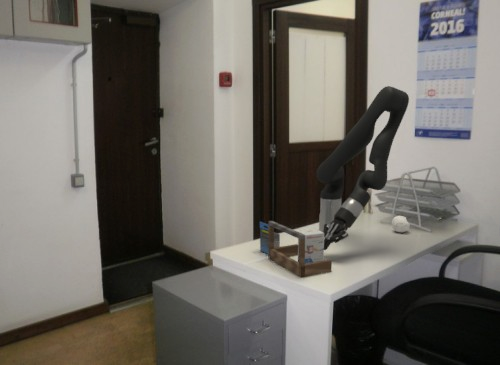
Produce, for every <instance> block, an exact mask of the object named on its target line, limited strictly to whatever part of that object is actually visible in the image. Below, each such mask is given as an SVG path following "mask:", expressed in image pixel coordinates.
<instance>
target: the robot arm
mask: <svg viewBox="0 0 500 365" xmlns="http://www.w3.org/2000/svg"><path fill="white" fill-rule="evenodd" d="M409 97H410V96H409V94H408V93H407V92H406V91H404V90H401V89H398V88H396V87H394V86H389V85H386V86H384V87H383V88H382V89H380V90H379V92H378V93H377V94H376V96H375V97H374V99H373V100H372V102H371V103H370V105H369V107H368V108H367V109H366V110H365V112H364V113H363V115H362V116H361V117H360V119H359V120H358V121H357V123H356V124H354V126H353V127H352V128H351V129H350V131H348V133H347V134H346V136H345V137H344V138H343V140H341V142H340V143H339V144H338V146H337V147H336V148H335V149H334V151H333V152H332V153H331V154H330V155H329V156H328V157H327V158H326V159H325V160H324V161H323V162H321V163H320V165H319V167H318V168H317V170H316V178H317V180H318V181H319V182H320V183H322V184H325V186H324V188H323V189H322V190H321V191H320V208H319V209H320V210H319V211H320V213H319V216H318V218H319V220H318V228H319V229H318V230H319V231H321V232H323V233H324V251H327V249H328V248H329V246H330V245H331V244H333V243H335V244H337V243H338V242H340V241H342V240H344V239H345V238H348V237H349V233H348V232H347V230H349V228H351V227H352V226H353V225H354V223H355V222H356V220H357V219H358V218H359V217H360V215H361V214H362V211H363V210H364V208H365V207H366V206H367V204H368V203H369V201H370V200H371V195H370V193H369V192H368V190H369V189H371V190H374V191H380V190H382V189H384V187H386V185H387V181H388V161H389V157H390V154H391V149H392V146H393V141H394V139H395V137H396V134H397V132H398V130H399V128H400V126H401V123H402V121H403V118H404V116H405V114H406V111H407V109H408V106H409V102H410V100H409V99H410V98H409ZM384 112H387V113H389V118H388V121H387V123H386V125H385V126H384V127H383V129H382V130H381V131H380V132H379V133H378V135H376V137H375V139H374V140H373V138H374V136H375V135H374V134H375V129H376V128H375V126H376V123H377V121H378V120H379V118H380V117H381V116H382V114H383V113H384ZM372 140H373V143H372V146H371V149H370V153H369V157H368V162H369V163H370V164H371V165H373V167H374V170H370V169H366V170H364V171H363V172H361V173H360V175H359V176H358V178H357V181H356V184H355V186H354V189H353V191H352V192H351V193H350V195H349V196H348V198H346V200H345V201H344V202H343V203H342V196H343V193H344V188H345V169H344V167H343V166H344V165H346V163H348V162H349V161H351V160H352V159H354V158H355V157H357V156H358V155H360V154H361V153H363V151H364V150H365V149H366V148H367V146H369V144H370V143H371V141H372Z"/></svg>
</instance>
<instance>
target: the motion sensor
mask: <svg viewBox="0 0 500 365" xmlns="http://www.w3.org/2000/svg"><path fill="white" fill-rule="evenodd" d="M391 226H392V229H393V230H394V231H395V232H397V233H399V234H400V233H401V234H402V233H406V232H407V231H408V230H409V229H410V226H411V224H410V222H408V220H407V217H406V216H402V215H395V217H393V219H392V221H391Z"/></svg>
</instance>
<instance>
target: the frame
mask: <svg viewBox="0 0 500 365" xmlns="http://www.w3.org/2000/svg"><path fill="white" fill-rule="evenodd" d="M267 224H268V227H267V228H268V230H269V254H268V260H270V261H272V262H274V263H275V264H277V265H279V266H280V267H282V268H284V269H285V270H287V271H289V272H291V273H292V274H294V275H296V276H297V277H300V278H306V277H311V276H315V275H321V273H322V274H325V273H326V272H327V273H331V272H332V263H333V262H332V260H331V259H324V260H323V261H318V262H312V263H307V264H305V235H304V234H302V233H299V232H300V231H297V230H295V229H292V228H290V227H288V226H285V225H283V224H280V223H278V222H276V221H273V220H268V223H267ZM275 229H276V230H279V231H280V232H283V233H285V234H287V235H290V236H291V237H294V238H296V239H297V240H298V239H299V262H298V260H296V259H293V258H291V257H296V256H298V243H294V244H289V245H284V246H280V247H276V248H274V232H275Z"/></svg>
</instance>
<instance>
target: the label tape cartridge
mask: <svg viewBox="0 0 500 365" xmlns="http://www.w3.org/2000/svg"><path fill="white" fill-rule="evenodd" d="M280 238H281V235H280V234H279V233H277V232H275V231H274V248H276V247H281V246H280V244H281V242H280ZM259 244H260V245H259V248H260V252H262V253H265V254H267V255H269V230H268V223H265V222H263V221H259Z"/></svg>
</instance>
